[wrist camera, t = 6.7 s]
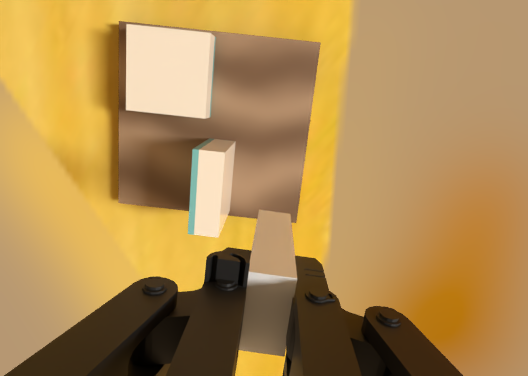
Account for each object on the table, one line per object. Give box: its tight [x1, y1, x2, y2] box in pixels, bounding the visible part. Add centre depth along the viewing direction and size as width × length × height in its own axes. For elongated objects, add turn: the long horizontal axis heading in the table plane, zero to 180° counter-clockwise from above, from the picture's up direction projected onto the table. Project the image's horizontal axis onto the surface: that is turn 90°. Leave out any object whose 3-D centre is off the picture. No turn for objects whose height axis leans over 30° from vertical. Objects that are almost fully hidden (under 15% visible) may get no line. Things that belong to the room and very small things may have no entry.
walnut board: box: [119, 21, 320, 223], centre depth 35 cm, size 17×18×2 cm
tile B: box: [188, 138, 236, 237], centre depth 32 cm, size 7×2×7 cm, turn 174°
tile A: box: [126, 24, 216, 119], centre depth 32 cm, size 7×2×7 cm
